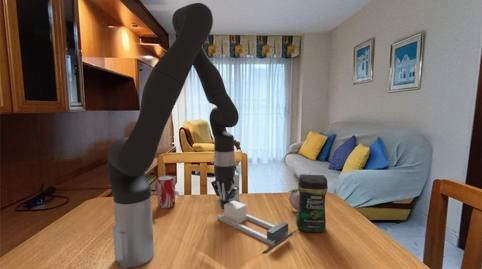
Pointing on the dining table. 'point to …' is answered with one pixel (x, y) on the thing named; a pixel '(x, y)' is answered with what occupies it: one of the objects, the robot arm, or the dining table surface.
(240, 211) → the block
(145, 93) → the robot arm
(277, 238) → the grey slide rail
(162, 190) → the soda can
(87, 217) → the dining table surface
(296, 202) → the decorative fruit
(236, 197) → the supplement box
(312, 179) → the coffee jar
